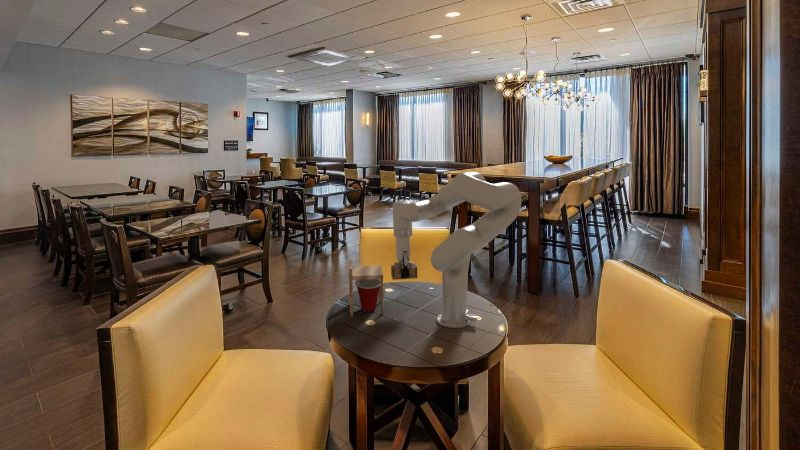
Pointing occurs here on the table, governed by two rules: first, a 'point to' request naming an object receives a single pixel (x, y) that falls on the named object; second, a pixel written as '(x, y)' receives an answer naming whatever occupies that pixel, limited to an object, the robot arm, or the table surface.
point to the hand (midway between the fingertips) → (404, 274)
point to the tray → (397, 271)
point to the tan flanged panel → (365, 273)
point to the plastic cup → (368, 293)
